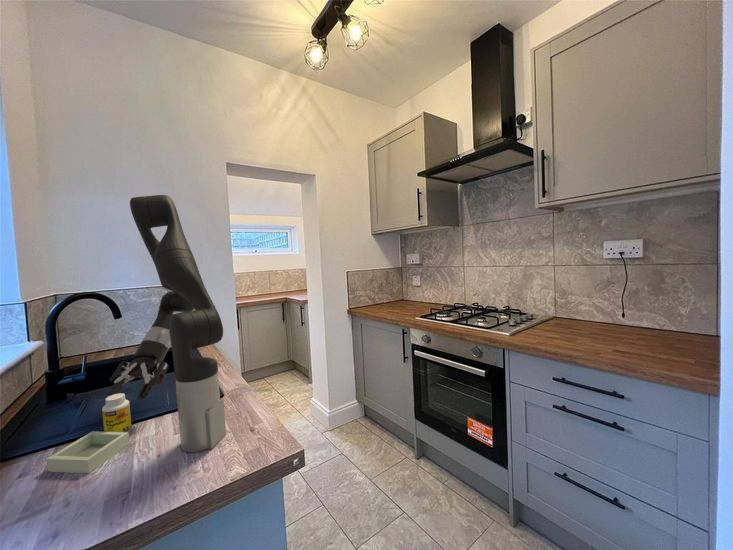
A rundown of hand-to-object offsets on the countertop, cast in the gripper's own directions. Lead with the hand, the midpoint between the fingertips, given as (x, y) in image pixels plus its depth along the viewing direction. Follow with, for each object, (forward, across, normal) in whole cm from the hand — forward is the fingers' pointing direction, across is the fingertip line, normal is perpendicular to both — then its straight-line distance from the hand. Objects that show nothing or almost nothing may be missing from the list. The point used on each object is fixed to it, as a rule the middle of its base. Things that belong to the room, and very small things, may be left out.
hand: (125, 398), depth 82 cm
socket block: (+14, +2, -3) cm, 15 cm away
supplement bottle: (+8, 0, +4) cm, 9 cm away
